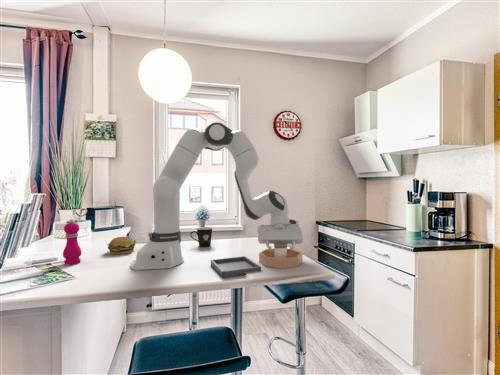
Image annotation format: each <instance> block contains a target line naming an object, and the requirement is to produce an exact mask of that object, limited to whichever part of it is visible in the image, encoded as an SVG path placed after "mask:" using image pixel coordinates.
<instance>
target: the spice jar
mask: <svg viewBox="0 0 500 375" xmlns="http://www.w3.org/2000/svg"><path fill="white" fill-rule="evenodd" d="M273 247H274V248H273V249H274V257H276V258H287V249H288V244H287V243H274V244H273Z"/></svg>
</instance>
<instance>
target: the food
mask: <svg viewBox="0 0 500 375" xmlns="http://www.w3.org/2000/svg"><path fill="white" fill-rule="evenodd" d="M136 242H137V241H136V239H134V240H133V238H131V237H129V236H117V237H114V238H112V239H111V240H110V242H109V243H108V244H107V246H108V247H107V249H108V250H109V253H110V254H111V255H126V254H130V253H133V252H134V251H135V247H136Z"/></svg>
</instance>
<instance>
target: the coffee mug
mask: <svg viewBox="0 0 500 375" xmlns="http://www.w3.org/2000/svg"><path fill="white" fill-rule="evenodd" d="M193 233H195V234H196V235H197V239H196V238H194V237H193V236H192V234H193ZM212 234H213V227H210V226H202V227H201V226H200V227H198V228H196V231H195V230H193V231H191V232H190V234H189V235H190V237H191V238H192V239H193V240H194V241H196V242H198V245H199V248H210V247H211V244H212V243H211V242H212V236H213V235H212Z"/></svg>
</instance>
